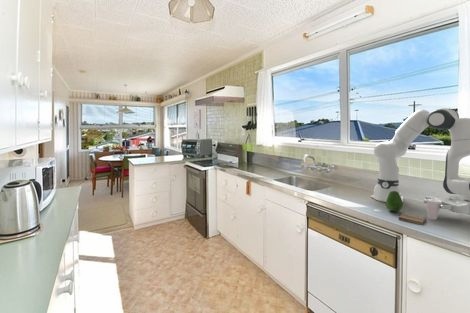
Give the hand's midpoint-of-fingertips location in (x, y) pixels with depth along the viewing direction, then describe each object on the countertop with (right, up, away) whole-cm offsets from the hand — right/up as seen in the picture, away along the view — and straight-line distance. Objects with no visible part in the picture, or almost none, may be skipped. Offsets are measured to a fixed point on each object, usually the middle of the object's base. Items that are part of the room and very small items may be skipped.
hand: (432, 204), depth 132 cm
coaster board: (-12, -8, -2) cm, 15 cm away
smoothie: (+1, -8, +1) cm, 8 cm away
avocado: (-13, -7, +11) cm, 19 cm away
